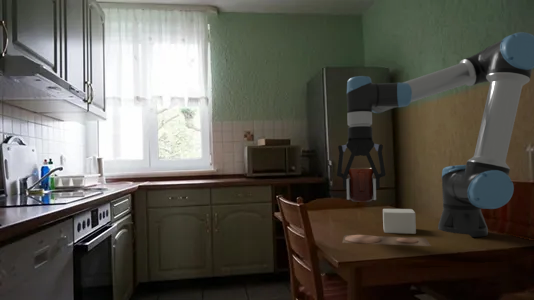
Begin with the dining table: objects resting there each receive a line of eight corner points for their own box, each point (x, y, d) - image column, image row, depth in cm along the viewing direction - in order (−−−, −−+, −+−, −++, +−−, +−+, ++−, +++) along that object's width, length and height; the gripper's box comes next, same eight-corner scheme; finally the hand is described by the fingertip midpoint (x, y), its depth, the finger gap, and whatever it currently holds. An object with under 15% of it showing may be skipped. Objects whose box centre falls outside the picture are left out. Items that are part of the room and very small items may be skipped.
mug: (347, 199, 123) (346, 168, 123) (374, 199, 121) (373, 167, 121) (347, 203, 111) (346, 169, 111) (378, 203, 109) (377, 169, 109)
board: (425, 241, 116) (425, 236, 116) (431, 250, 105) (431, 245, 105) (344, 238, 123) (344, 234, 123) (342, 246, 112) (342, 241, 112)
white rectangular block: (412, 231, 132) (412, 209, 132) (416, 237, 123) (415, 212, 123) (383, 230, 134) (382, 208, 134) (384, 236, 125) (383, 212, 126)
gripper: (392, 126, 117) (394, 198, 117) (328, 128, 123) (330, 197, 122) (394, 124, 110) (396, 201, 110) (326, 126, 116) (327, 200, 115)
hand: (361, 199), depth 116 cm, fingers closed on mug, 7 cm apart
